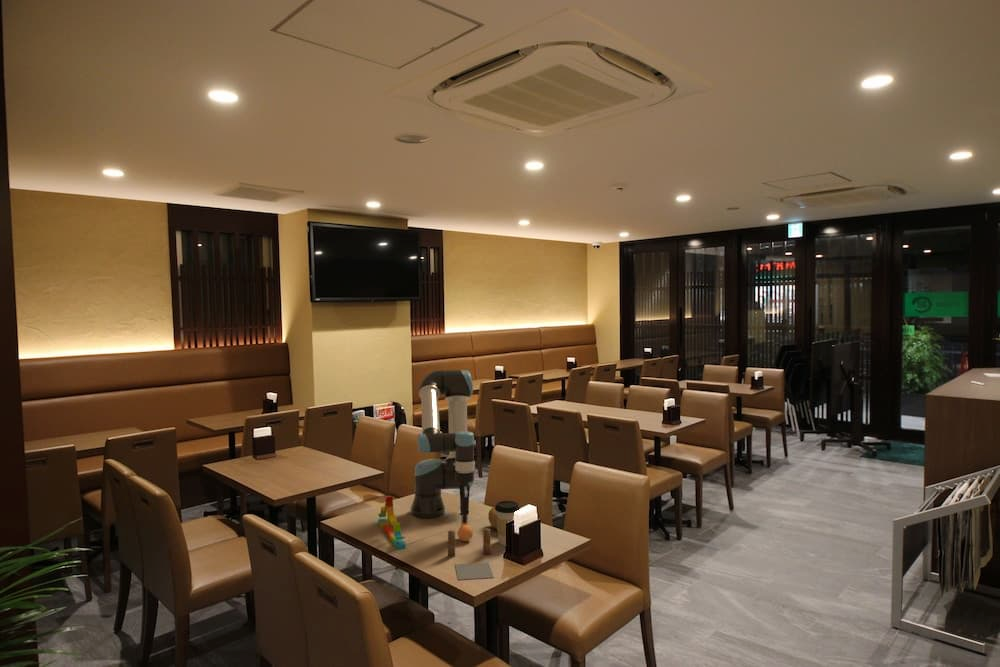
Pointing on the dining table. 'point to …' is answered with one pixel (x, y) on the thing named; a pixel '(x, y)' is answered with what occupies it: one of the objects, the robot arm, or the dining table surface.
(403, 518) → the dining table surface
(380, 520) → the colorful toy block stack
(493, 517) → the potato
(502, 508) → the coffee cup
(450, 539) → the post
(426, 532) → the dining table surface
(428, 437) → the robot arm
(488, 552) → the post
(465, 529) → the ball
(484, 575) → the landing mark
